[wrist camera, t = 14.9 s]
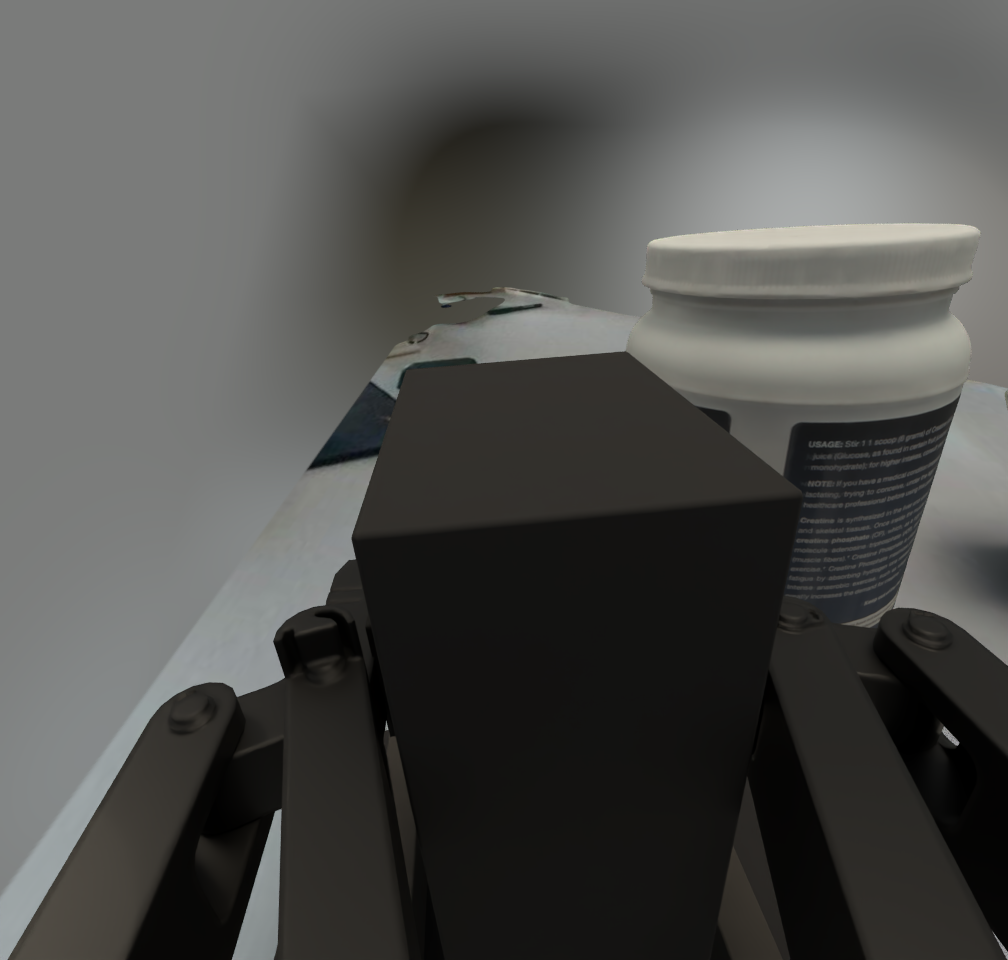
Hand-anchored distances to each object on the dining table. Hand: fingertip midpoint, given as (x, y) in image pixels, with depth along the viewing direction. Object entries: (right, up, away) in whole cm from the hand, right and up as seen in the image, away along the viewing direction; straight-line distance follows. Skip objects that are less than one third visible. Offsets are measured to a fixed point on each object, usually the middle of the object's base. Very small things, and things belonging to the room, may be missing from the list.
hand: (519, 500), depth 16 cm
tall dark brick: (+1, -8, -2) cm, 8 cm away
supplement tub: (+12, -6, +14) cm, 19 cm away
